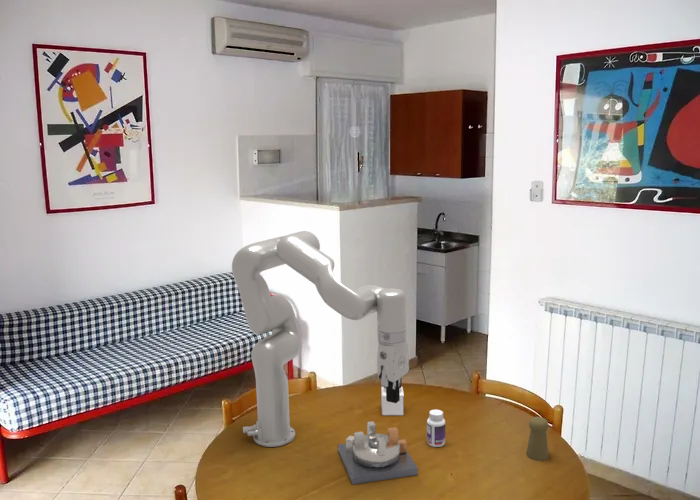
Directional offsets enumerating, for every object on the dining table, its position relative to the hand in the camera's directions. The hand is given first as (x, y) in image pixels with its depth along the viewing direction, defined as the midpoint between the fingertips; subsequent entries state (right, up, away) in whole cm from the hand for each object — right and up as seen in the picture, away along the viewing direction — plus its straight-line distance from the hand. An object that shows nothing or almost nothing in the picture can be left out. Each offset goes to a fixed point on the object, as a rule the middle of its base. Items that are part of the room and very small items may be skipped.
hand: (392, 401), depth 162 cm
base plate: (-4, -19, +6) cm, 20 cm away
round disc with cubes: (-3, -16, +6) cm, 18 cm away
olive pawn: (+41, -18, +9) cm, 46 cm away
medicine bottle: (+3, -13, +38) cm, 40 cm away
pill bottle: (+14, -17, +16) cm, 27 cm away
